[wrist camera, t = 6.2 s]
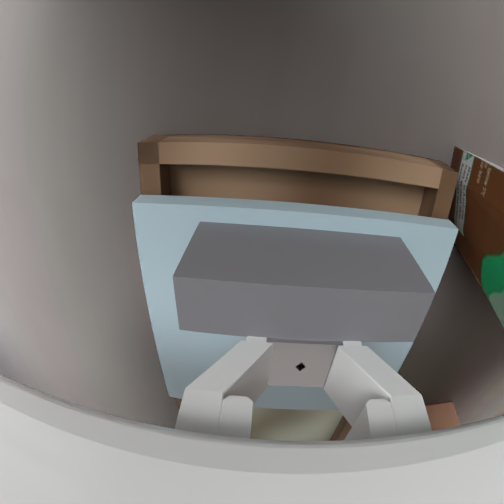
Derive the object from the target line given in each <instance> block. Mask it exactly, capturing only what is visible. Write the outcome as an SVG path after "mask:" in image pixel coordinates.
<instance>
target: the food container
mask: <svg viewBox="0 0 504 504" xmlns="http://www.w3.org/2000/svg"><path fill="white" fill-rule="evenodd" d="M451 168H453V169H454V170H456V171H457V172H459V175H458V180H457V184H456V188H455V192H454V196H453V200H452V204H451V208H450V211H449V215H448V217H449V220H450V221H451V222H452V223H453V224H454V225H455V226H456V227H457V228H458V229H459V230H458V233H457V236H456V239H455V242H454V243H455V245H456V247H457V248H458V250H459V252H460V253H461V255H462V257H463V259H464V260H465V262H466V264H467V265H468V267H469V268H470V270H471V272H472V273H473V275H474V276H475V278H476V280H477V281H478V283H479V285H480V286H481V288H482V290H483V291H484V293H485V295H486V296H487V298H488V300H489V302H490V304H491V305H492V307H493V309H494V311H495V313H496V314H497V316H498V318H499V320H500V322H501V324H502V326H503V328H504V169H503V168H501V167H499V166H497V165H495V164H493V163H491V162H489V161H487V160H485V159H483V158H481V157H479V156H476V155H474V154H472V153H470V152H468V151H465V150H463V149H461V148H458V147H456V146H455V149H454V153H453V158H452V162H451Z"/></svg>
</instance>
